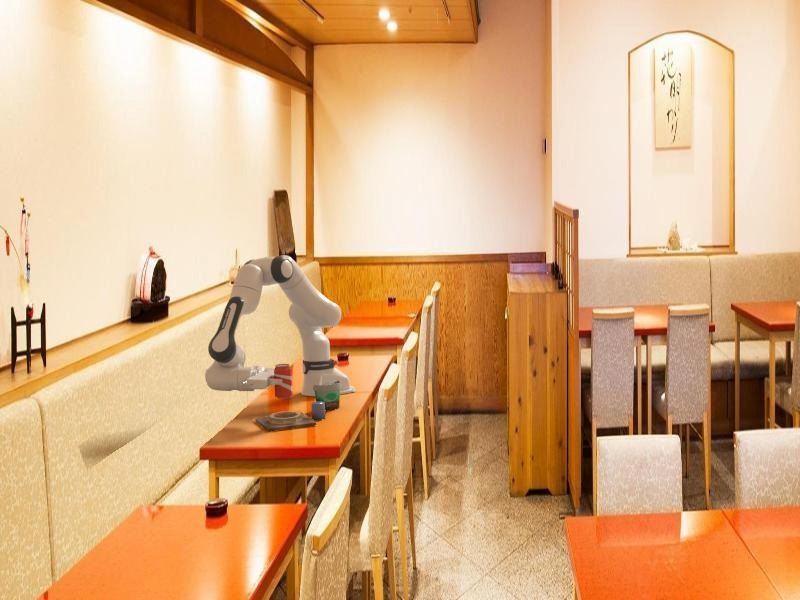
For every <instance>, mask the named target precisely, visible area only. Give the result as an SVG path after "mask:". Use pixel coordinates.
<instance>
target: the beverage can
mask: <svg viewBox="0 0 800 600" xmlns="http://www.w3.org/2000/svg"><path fill="white" fill-rule="evenodd" d="M274 366H275V367H274V368H273V369H274V379H283V383H282V384H276V385H274V397H276V398H277V399H278V400H279V399H280V400H286V399H290V398H291V397H292V396H293V373H292V367H291V364H290V363H279V364H275V365H274Z"/></svg>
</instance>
